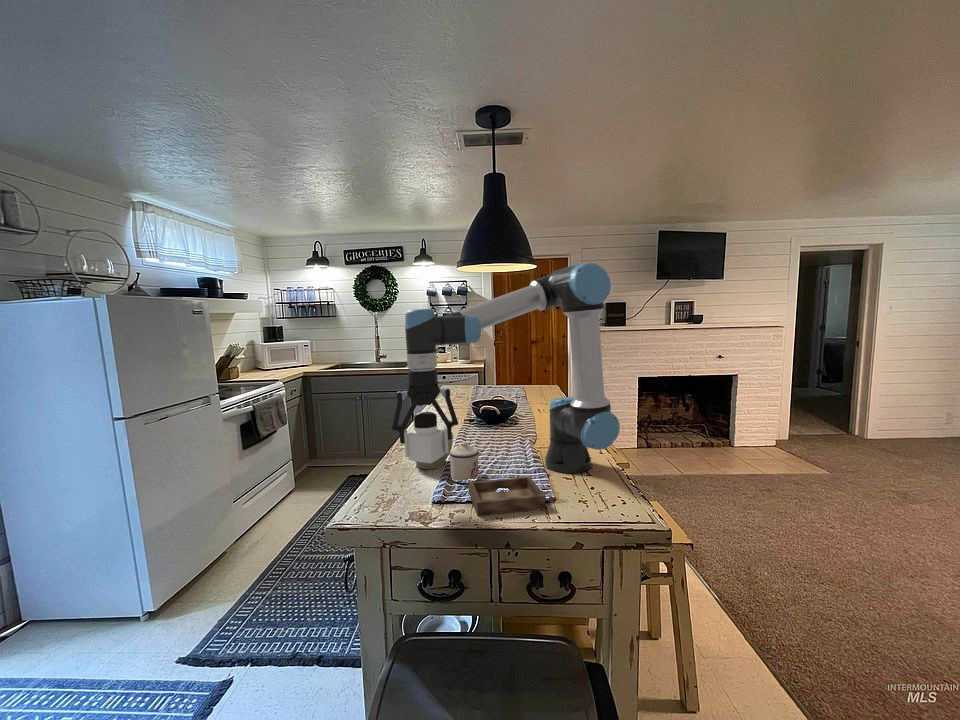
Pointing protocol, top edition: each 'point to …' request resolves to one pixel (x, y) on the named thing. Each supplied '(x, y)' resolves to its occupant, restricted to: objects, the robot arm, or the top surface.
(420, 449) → the medicine bottle
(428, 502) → the top surface
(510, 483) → the holder tray
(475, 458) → the teacup with lid
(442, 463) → the planter bowl
